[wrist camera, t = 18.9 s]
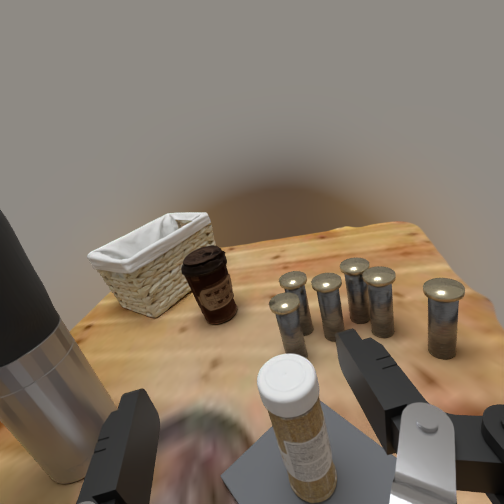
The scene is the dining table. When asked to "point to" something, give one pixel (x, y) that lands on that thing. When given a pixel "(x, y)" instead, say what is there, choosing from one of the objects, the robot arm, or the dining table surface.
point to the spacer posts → (363, 306)
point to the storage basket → (152, 261)
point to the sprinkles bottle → (299, 425)
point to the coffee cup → (210, 283)
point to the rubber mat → (343, 456)
